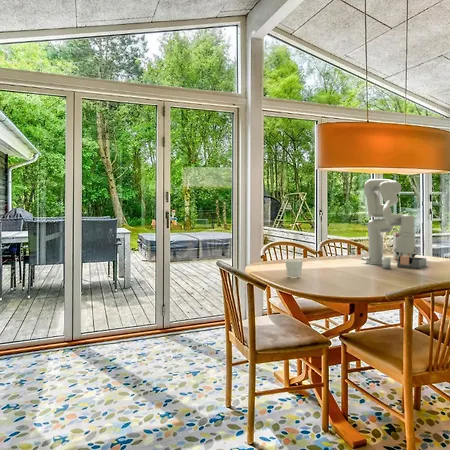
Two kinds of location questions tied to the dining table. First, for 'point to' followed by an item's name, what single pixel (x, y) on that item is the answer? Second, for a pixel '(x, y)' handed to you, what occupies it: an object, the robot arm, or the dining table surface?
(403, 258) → the terracotta cube
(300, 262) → the cup
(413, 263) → the tote
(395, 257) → the cracker box
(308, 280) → the dining table surface
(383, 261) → the metal cylinder
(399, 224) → the robot arm
